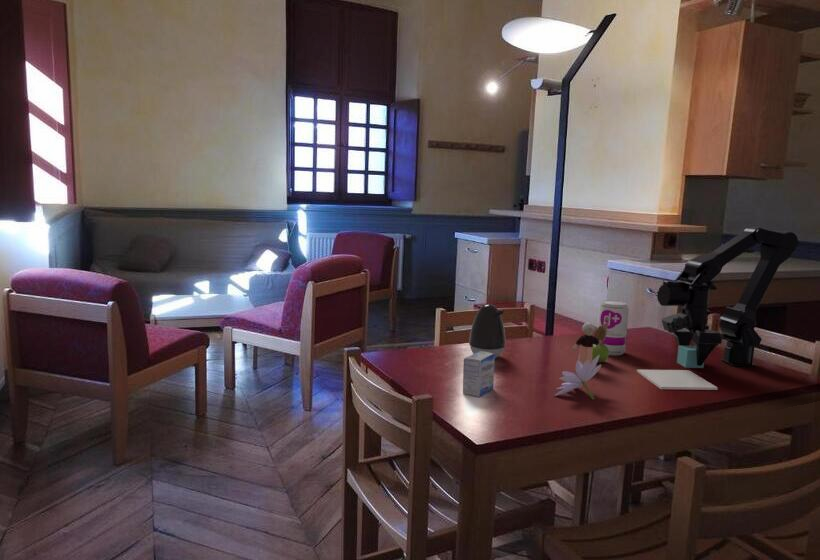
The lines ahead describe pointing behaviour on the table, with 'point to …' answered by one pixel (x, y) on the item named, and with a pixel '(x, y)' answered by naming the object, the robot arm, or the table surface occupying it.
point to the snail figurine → (600, 335)
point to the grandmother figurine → (586, 343)
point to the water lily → (579, 376)
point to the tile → (676, 379)
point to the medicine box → (478, 373)
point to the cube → (688, 357)
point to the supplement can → (614, 325)
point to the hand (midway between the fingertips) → (690, 360)
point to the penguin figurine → (488, 331)
